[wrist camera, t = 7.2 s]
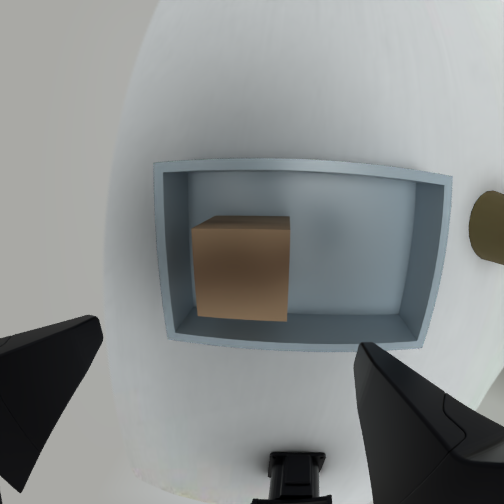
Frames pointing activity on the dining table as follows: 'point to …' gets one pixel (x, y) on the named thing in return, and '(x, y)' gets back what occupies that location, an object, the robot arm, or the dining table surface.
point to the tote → (312, 249)
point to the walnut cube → (242, 267)
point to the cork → (488, 227)
